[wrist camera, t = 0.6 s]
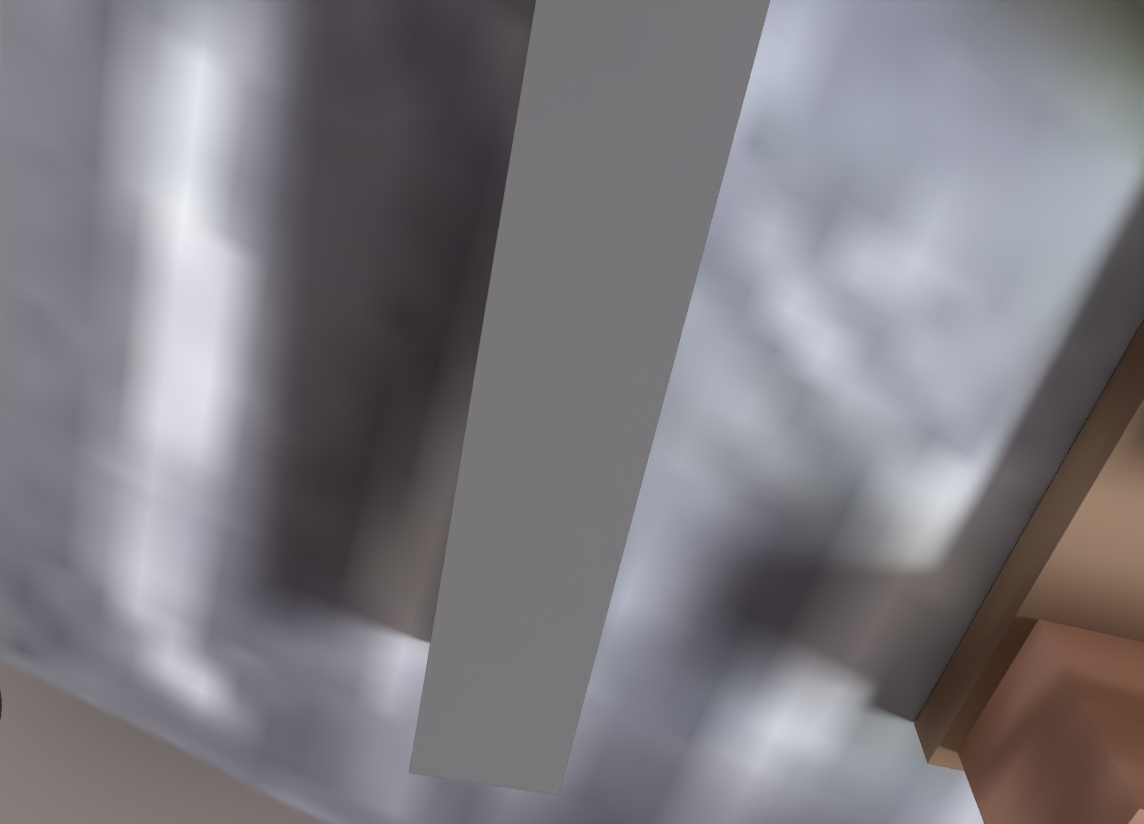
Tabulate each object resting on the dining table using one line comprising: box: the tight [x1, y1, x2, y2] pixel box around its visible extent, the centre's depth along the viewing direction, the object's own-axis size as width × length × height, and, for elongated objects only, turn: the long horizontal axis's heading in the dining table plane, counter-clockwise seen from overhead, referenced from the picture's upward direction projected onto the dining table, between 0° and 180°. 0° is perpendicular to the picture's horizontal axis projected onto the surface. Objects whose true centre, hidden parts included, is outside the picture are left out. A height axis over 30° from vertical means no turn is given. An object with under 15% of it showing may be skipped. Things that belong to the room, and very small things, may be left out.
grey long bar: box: [409, 0, 770, 795], centre depth 18 cm, size 20×3×4 cm, turn 169°
